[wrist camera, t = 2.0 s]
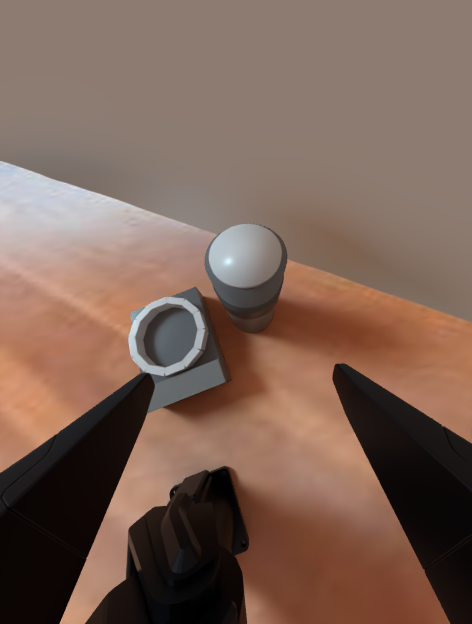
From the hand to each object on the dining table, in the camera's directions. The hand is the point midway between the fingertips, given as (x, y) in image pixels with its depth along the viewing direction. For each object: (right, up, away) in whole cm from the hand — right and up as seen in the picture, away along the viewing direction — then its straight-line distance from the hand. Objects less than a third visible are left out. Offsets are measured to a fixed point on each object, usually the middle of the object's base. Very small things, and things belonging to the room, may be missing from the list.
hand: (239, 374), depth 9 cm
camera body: (-7, -2, +15) cm, 17 cm away
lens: (+2, +3, +15) cm, 16 cm away
